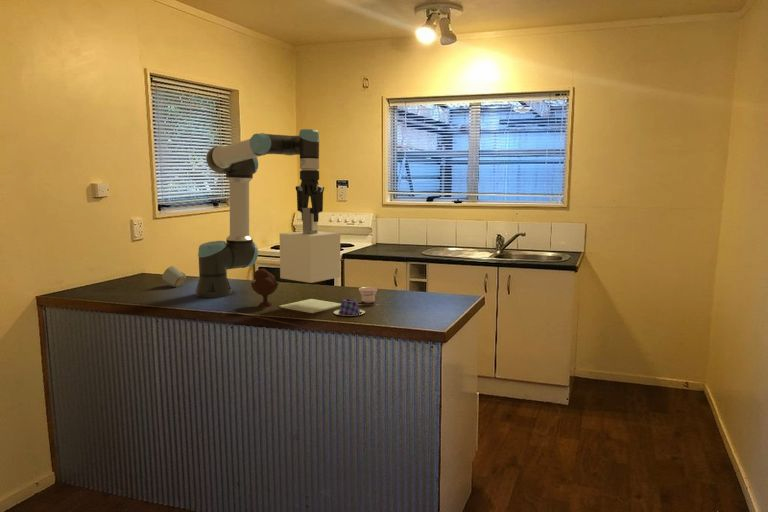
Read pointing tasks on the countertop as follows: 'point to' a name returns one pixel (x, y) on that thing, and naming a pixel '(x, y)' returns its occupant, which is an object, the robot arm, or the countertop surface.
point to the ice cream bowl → (264, 285)
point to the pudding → (349, 308)
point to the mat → (311, 305)
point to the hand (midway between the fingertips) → (310, 229)
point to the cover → (309, 253)
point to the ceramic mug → (174, 276)
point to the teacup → (368, 294)
